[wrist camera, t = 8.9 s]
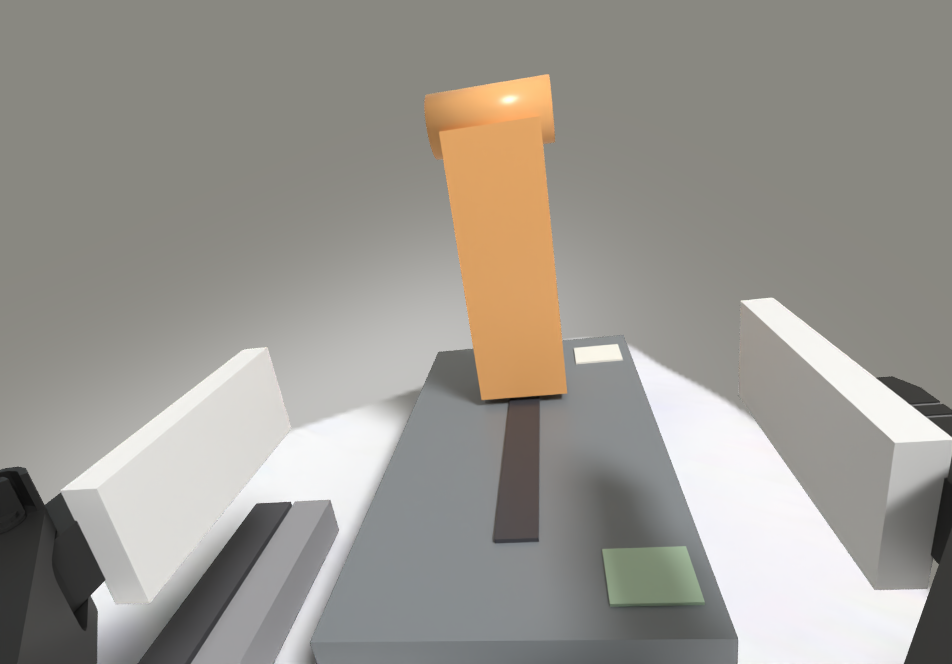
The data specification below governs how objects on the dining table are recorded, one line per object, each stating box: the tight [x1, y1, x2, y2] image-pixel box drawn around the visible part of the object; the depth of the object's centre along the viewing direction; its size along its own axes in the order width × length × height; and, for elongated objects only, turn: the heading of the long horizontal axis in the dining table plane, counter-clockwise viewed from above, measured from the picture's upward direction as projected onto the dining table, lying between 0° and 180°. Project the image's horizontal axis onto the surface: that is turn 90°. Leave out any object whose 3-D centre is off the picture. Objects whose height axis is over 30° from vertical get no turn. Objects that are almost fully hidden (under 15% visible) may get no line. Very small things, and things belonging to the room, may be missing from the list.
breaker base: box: [310, 335, 738, 664], centre depth 24 cm, size 11×20×3 cm, turn 173°
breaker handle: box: [425, 74, 567, 400], centre depth 25 cm, size 5×3×14 cm, turn 83°
